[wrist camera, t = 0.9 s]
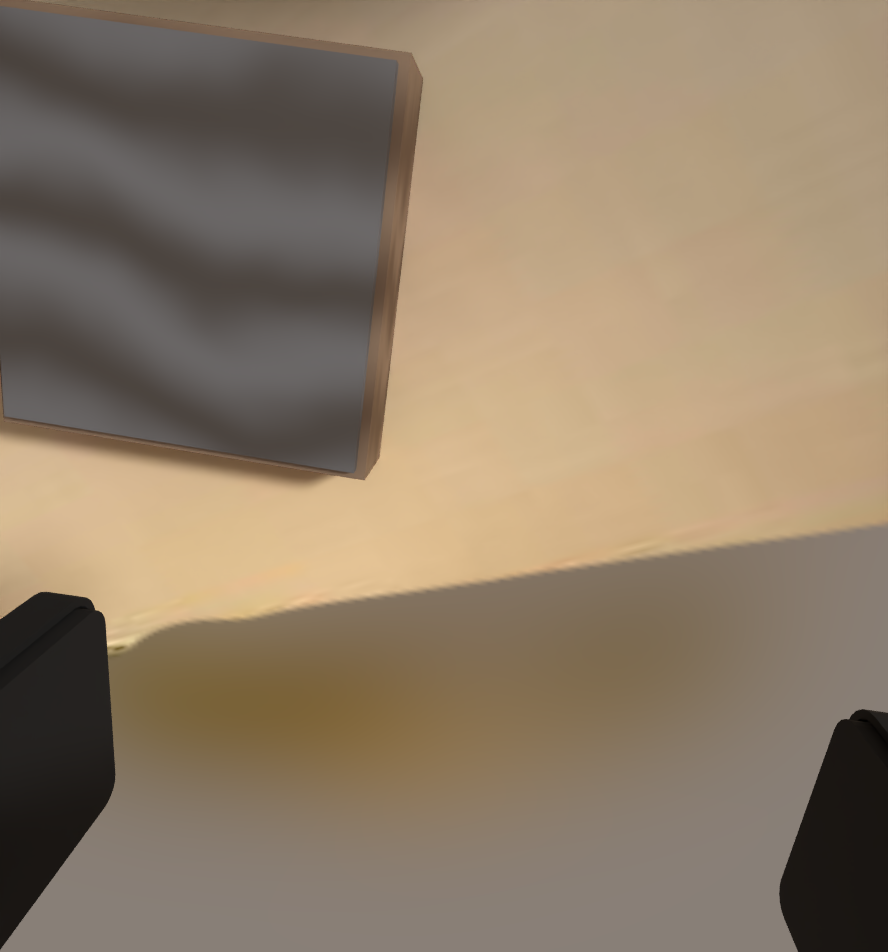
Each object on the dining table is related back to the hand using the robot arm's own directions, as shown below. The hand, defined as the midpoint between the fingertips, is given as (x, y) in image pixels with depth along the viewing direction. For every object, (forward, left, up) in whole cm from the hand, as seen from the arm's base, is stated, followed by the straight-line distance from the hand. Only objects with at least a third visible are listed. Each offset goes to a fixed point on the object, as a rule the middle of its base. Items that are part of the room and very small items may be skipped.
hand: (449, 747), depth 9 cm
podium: (-4, -16, -31) cm, 35 cm away
